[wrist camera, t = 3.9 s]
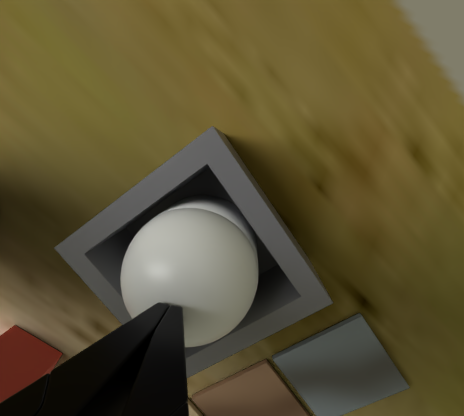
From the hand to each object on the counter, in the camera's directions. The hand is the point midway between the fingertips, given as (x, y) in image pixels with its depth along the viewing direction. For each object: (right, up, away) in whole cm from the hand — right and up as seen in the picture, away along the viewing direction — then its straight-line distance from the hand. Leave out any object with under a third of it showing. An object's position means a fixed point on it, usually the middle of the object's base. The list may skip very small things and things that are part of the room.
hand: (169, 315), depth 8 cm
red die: (-13, -8, +10) cm, 18 cm away
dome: (0, +1, +6) cm, 6 cm away
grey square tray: (+1, +2, +6) cm, 7 cm away
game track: (+4, -11, +9) cm, 15 cm away
